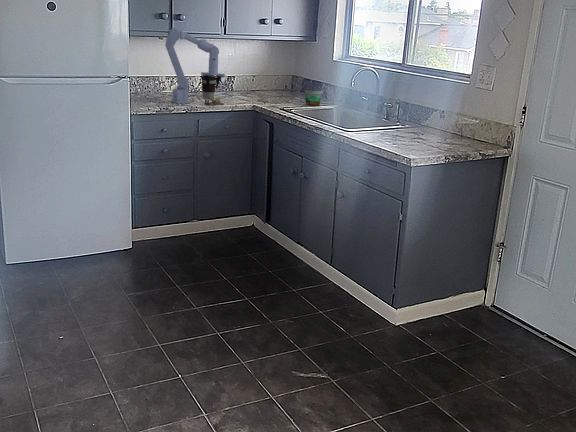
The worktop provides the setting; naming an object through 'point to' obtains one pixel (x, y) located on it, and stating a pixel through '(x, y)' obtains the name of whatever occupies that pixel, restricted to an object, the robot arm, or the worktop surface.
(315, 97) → the food container
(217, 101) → the bar
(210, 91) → the coffee cup
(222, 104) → the plate
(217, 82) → the robot arm
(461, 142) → the worktop surface
